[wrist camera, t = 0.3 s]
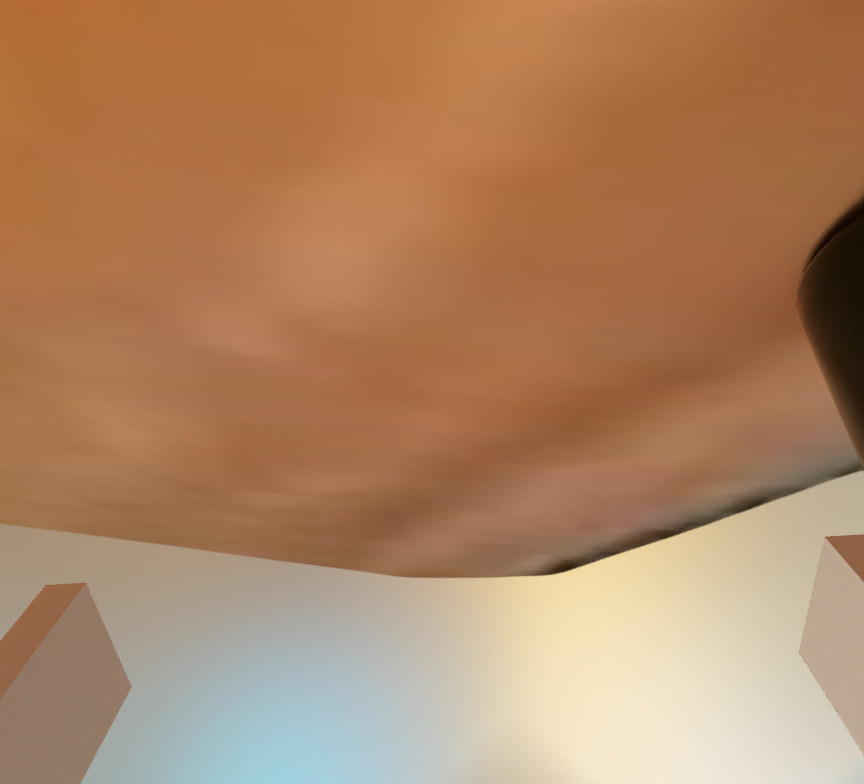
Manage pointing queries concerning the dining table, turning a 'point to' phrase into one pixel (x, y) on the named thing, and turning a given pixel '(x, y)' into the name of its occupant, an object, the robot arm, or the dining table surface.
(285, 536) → the dining table surface
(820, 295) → the beer bottle
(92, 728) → the robot arm
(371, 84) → the dining table surface
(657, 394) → the dining table surface
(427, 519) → the dining table surface
